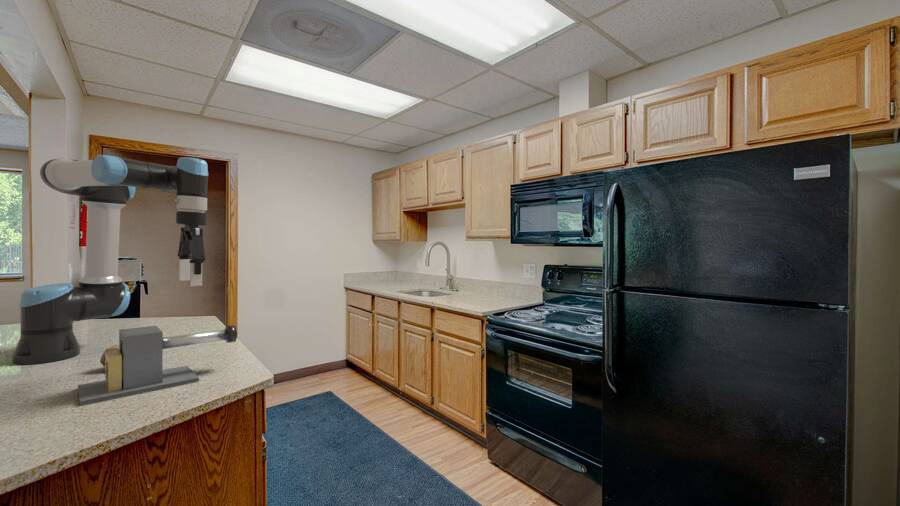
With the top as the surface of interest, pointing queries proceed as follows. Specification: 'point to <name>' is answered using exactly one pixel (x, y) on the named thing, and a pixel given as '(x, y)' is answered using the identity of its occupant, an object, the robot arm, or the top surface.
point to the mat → (169, 379)
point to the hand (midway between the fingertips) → (190, 283)
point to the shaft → (201, 337)
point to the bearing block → (141, 356)
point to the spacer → (113, 369)
